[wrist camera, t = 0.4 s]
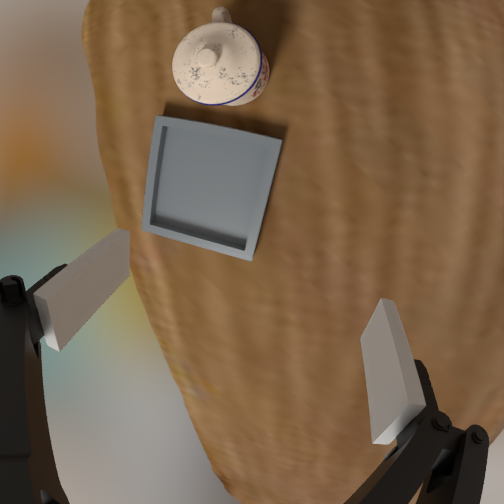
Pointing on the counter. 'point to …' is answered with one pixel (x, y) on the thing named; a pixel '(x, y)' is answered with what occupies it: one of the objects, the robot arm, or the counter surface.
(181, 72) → the teacup with lid
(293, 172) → the counter surface
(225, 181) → the cup tray
